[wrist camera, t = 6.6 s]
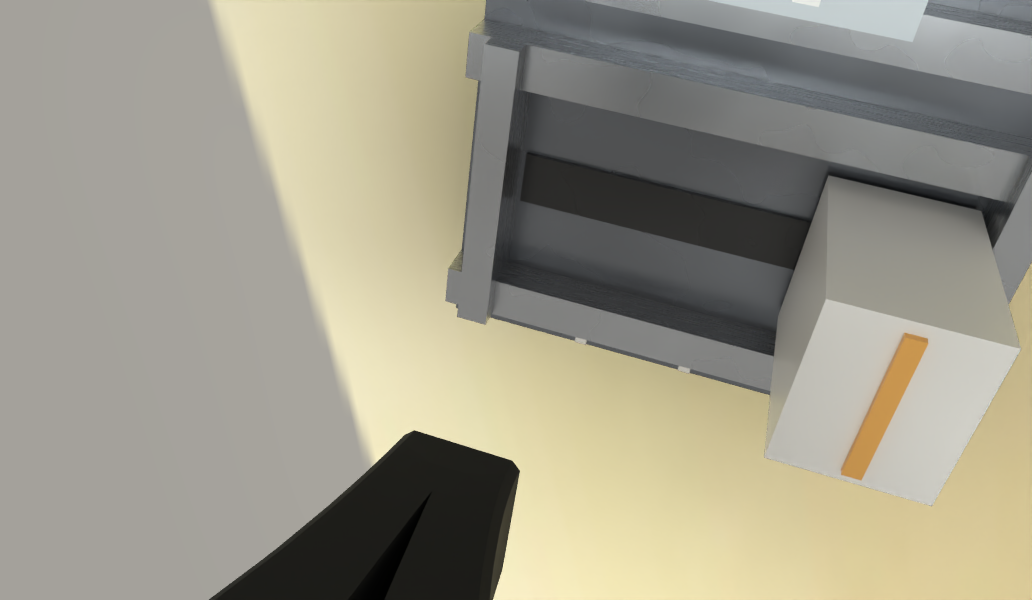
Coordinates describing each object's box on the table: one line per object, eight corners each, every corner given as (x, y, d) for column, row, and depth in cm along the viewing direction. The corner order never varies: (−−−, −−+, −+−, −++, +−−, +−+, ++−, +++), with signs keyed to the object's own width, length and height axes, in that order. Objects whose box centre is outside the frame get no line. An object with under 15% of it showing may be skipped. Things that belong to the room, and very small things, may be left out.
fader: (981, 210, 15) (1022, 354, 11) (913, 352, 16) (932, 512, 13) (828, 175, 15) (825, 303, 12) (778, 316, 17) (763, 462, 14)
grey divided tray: (1318, -376, 11) (1430, -395, 9) (926, 393, 19) (938, 482, 17) (561, -465, 13) (506, -500, 11) (478, 272, 21) (436, 338, 18)
